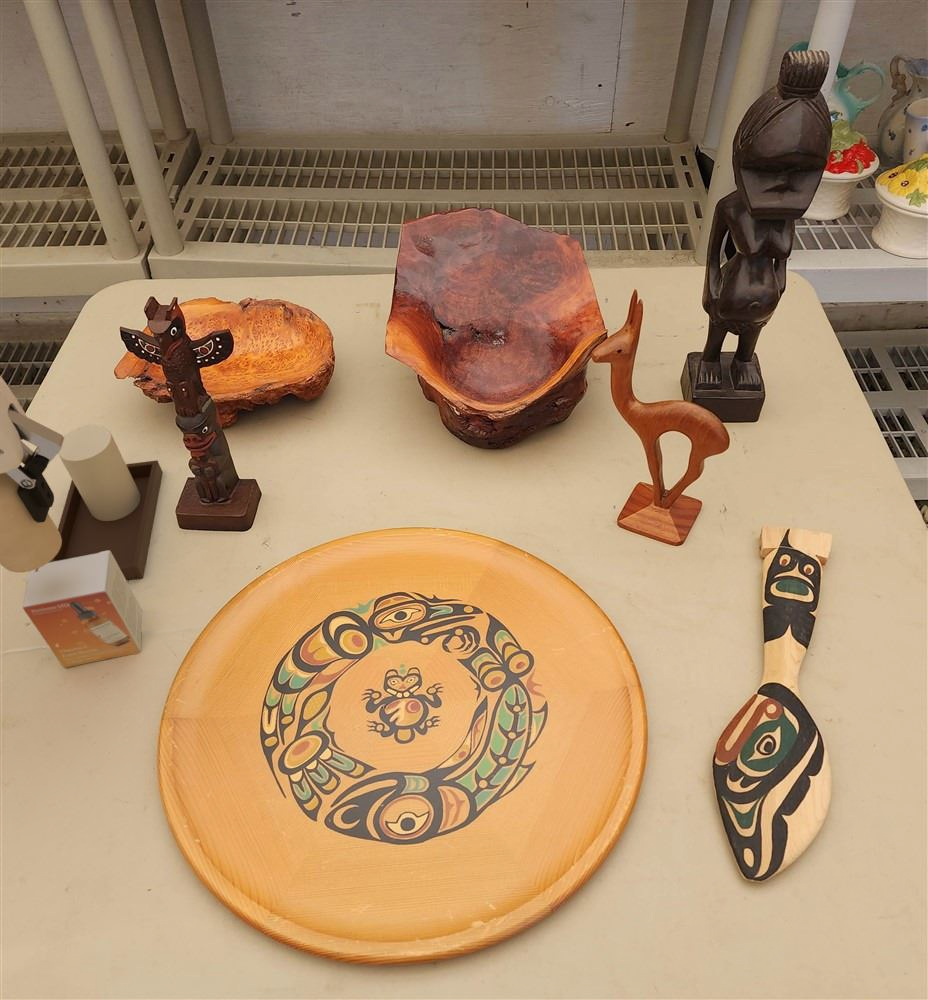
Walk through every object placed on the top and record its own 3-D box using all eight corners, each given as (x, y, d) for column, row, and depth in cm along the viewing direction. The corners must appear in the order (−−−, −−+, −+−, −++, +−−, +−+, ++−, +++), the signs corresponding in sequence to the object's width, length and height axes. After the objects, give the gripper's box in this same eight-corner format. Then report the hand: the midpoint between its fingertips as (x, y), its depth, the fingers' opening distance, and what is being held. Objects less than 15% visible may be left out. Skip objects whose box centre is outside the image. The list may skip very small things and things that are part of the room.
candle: (56, 568, 77) (6, 489, 69) (-7, 577, 76) (-63, 499, 69) (67, 523, 80) (22, 444, 73) (7, 531, 80) (-44, 453, 73)
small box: (63, 669, 89) (18, 608, 81) (69, 626, 93) (27, 564, 85) (142, 653, 90) (105, 591, 82) (145, 611, 93) (110, 548, 86)
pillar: (86, 524, 102) (51, 463, 95) (95, 488, 106) (62, 428, 99) (136, 518, 102) (106, 456, 95) (144, 482, 107) (115, 421, 99)
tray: (52, 593, 96) (43, 579, 94) (82, 485, 108) (74, 470, 106) (144, 581, 96) (136, 566, 94) (164, 475, 108) (157, 460, 106)
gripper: (-248, 387, 59) (-107, 557, 72) (3, 363, 59) (99, 536, 72) (-199, 325, 64) (-76, 494, 77) (32, 302, 65) (116, 474, 78)
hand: (8, 513), depth 75 cm, fingers closed on candle, 5 cm apart
